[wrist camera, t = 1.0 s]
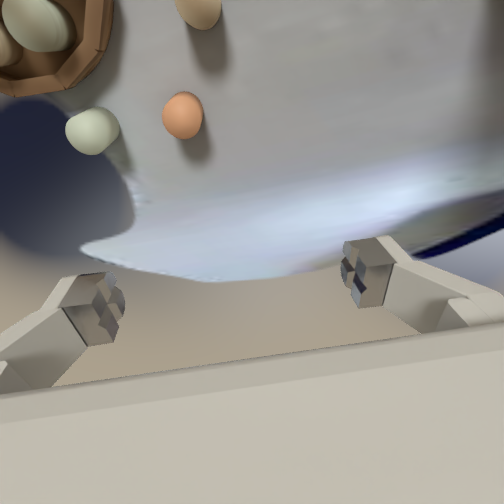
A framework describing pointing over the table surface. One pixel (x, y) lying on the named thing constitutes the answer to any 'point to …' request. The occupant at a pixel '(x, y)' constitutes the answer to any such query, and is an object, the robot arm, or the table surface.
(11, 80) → the groove tray
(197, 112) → the orange egg
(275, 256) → the table surface
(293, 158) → the table surface
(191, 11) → the tan egg
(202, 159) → the table surface
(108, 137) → the sage green egg
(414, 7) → the table surface
